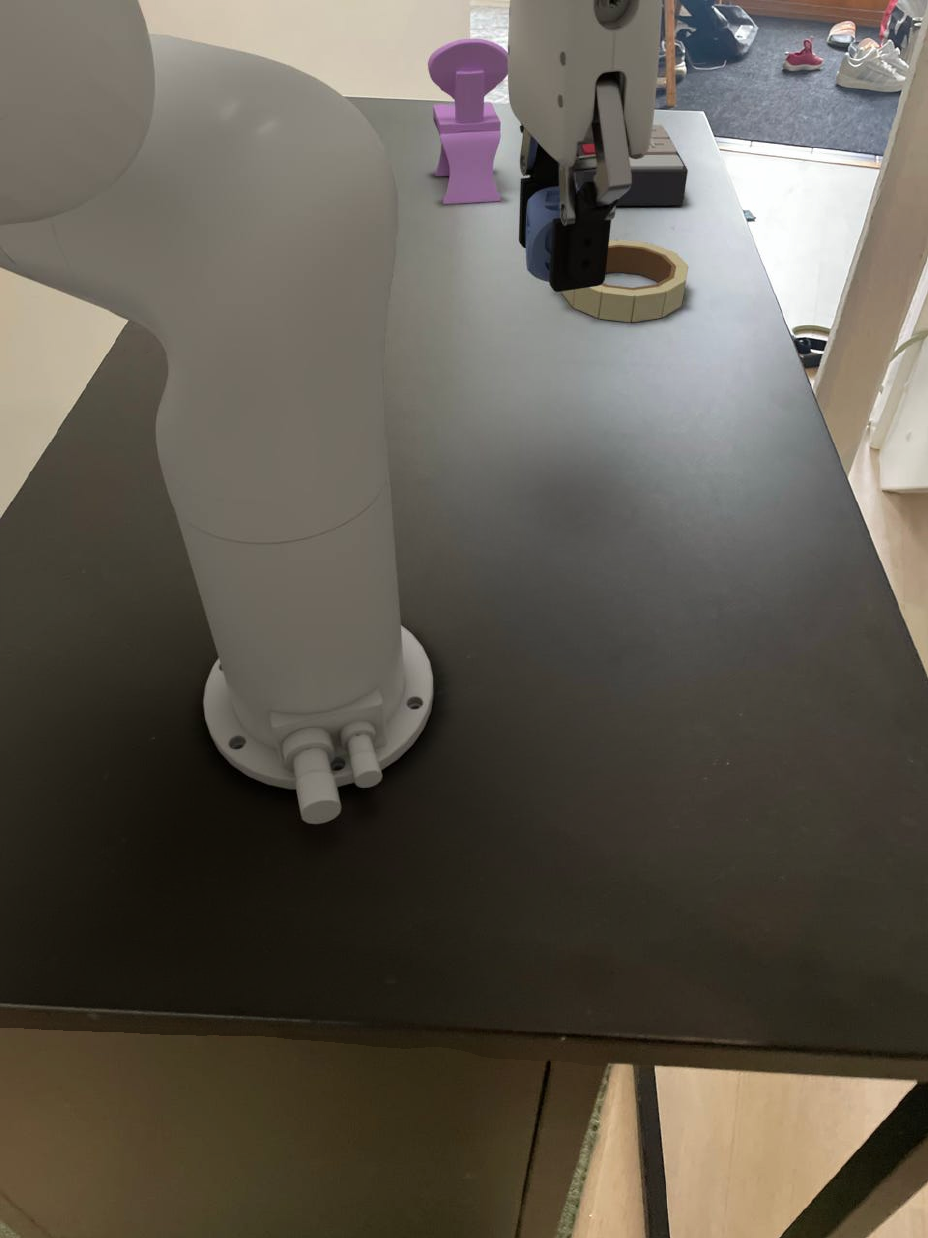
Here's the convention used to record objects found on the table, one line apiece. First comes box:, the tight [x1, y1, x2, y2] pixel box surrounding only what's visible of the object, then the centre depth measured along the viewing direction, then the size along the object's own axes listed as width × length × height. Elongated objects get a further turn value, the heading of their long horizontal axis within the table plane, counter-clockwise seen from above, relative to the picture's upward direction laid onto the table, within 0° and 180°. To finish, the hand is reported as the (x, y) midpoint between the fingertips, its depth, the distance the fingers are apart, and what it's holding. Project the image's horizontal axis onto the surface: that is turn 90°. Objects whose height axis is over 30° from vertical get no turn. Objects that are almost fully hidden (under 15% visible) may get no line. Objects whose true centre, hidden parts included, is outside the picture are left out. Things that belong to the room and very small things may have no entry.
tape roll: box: [561, 239, 689, 323], centre depth 83 cm, size 11×11×2 cm
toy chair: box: [427, 38, 508, 205], centre depth 96 cm, size 8×9×15 cm
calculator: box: [576, 124, 689, 207], centre depth 101 cm, size 11×4×15 cm
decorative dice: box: [525, 186, 580, 283], centre depth 53 cm, size 4×4×4 cm
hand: (560, 261), depth 54 cm, fingers closed on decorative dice, 4 cm apart
